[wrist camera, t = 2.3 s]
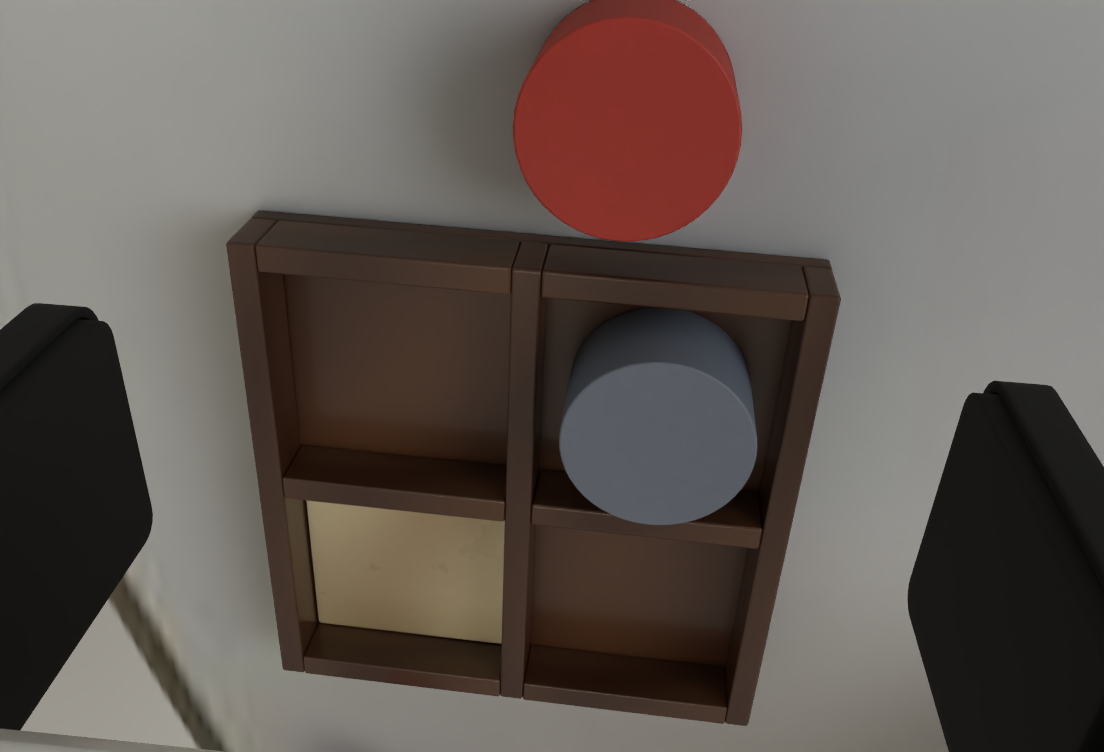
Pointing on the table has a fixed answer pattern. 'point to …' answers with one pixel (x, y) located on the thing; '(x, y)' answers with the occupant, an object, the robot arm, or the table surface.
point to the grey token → (659, 417)
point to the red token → (629, 119)
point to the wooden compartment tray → (506, 462)
